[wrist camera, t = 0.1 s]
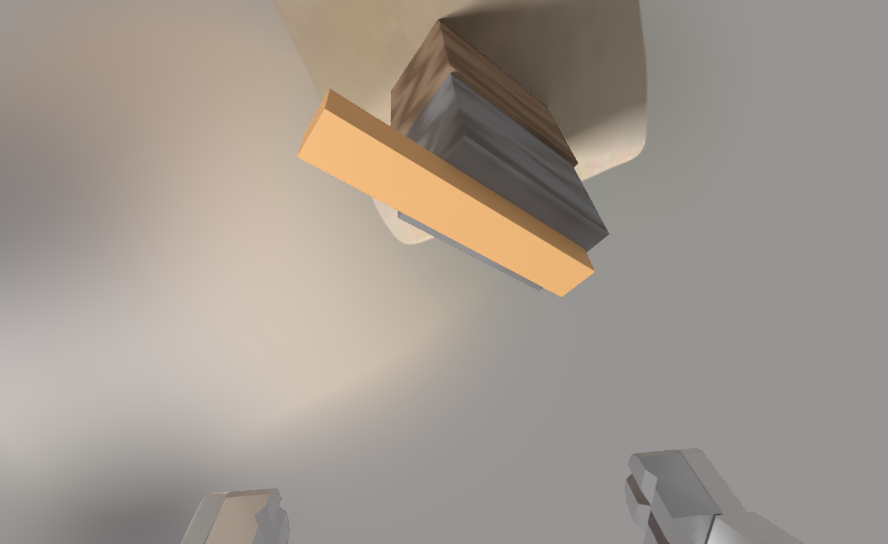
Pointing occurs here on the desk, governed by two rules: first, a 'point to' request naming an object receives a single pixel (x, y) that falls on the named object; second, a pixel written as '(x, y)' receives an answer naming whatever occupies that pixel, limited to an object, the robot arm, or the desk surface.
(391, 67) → the desk surface
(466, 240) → the orange bar
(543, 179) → the tower
